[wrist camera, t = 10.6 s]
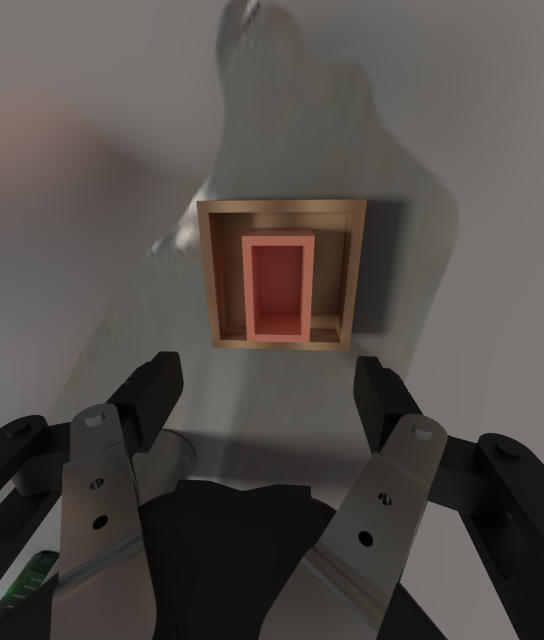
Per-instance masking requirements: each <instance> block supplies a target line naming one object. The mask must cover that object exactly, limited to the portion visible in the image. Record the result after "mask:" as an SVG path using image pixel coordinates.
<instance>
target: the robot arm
mask: <svg viewBox="0 0 544 640" xmlns="http://www.w3.org/2000/svg"><path fill="white" fill-rule="evenodd" d="M183 384H184V382H183V375H182V369H181V363H180V357H179V354H178V352H167V351H160V352H159V353H158V354H157V355H156V356H155V357H154V358H153V359H152V361H151V362H146V363H145V364H143V365H142V366H140V367H138V368H137V369H136V370H135V371H134V372H133V373H132V374H131V375H130V377H129V378H128V379H127V380H126V381H125V383H123V384H122V385H121V386H120V387H119V388H118V390H117V391H116V392H115V393H114V394H113V395H112V396H111V397H110V398H109V399H108V400H107V402H106V403H101V404H96V405H93V406H90V407H88V408H86V409H84V410H82V411H81V412H79V413H78V414H77V415H76V416H75V417H74V418H73V419H72V421H71V422H68V423H62V424H57V425H52V426H48V424H47V422H46V419H45V418H44V417H43V416H40V415H31V416H26V417H22V418H19V419H17V420H14V421H12V422H10V423H8V424H6V425H5V426H3V427H1V428H0V490H1V489H2V488H3V487H4V486H5V484H6V483H7V482H8V481H9V480H10V479H12V481H13V483H14V485H15V486H16V487H15V488H14V489H13V490H12V491H11V492H10V494H9V495H8V496H7V497H6V498H5V499H4V500H3V501H2V502H1V504H0V580H1V578H2V577H3V575H4V574H5V573H6V571H7V570H8V568H9V567H10V566H11V564H12V563H13V561H14V560H15V559H16V557H17V556H18V555H19V553H20V552H21V550H22V549H23V548H24V546H25V545H26V543H27V542H28V541H29V539H30V538H31V536H32V535H33V534H34V532H35V531H36V529H37V528H38V527H39V525H40V524H41V522H42V521H43V520H44V518H45V517H46V516H47V514H48V513H49V511H50V510H51V509H52V507H53V506H54V504H55V503H56V502H57V500H58V499H59V497H60V496H61V495H62V505H61V533H60V556H59V558H58V559H57V561H56V563H55V564H54V566H53V567H52V569H51V570H50V572H49V573H48V575H47V576H46V578H45V579H44V581H43V582H42V584H41V586H40V587H39V588H37V589H36V590H35V591H34V592H32V593H31V594H30V595H29V596H27V597H26V598H25V599H24V600H22V601H21V602H20V603H19V604H17V605H16V606H15V607H14V608H12V609H11V610H10V611H9V612H8V613H6V614H5V615H4V616H3V617H1V618H0V640H448V639H447V638H446V637H445V636H444V635H443V633H442V632H441V631H440V630H439V629H438V627H437V626H436V625H435V624H434V623H433V622H432V620H431V619H430V618H429V617H428V616H427V614H426V613H425V612H424V611H423V609H422V608H421V607H420V606H419V605H418V604H417V602H416V601H415V600H414V599H413V598H412V597H411V595H410V594H409V593H408V592H407V590H406V589H405V588H404V587H403V586H402V584H401V583H400V581H401V578H402V575H403V572H404V569H405V566H406V563H407V560H408V557H409V554H410V551H411V548H412V545H413V542H414V539H415V536H416V534H417V531H418V528H419V525H420V522H421V519H422V516H423V513H424V510H425V508H426V504H427V502H428V501H430V502H433V503H436V504H439V505H442V506H445V507H447V508H450V509H453V510H456V511H458V512H459V514H460V516H461V519H462V521H463V523H464V525H465V527H466V529H467V531H468V533H469V535H470V537H471V540H472V542H473V544H474V546H475V548H476V550H477V552H478V554H479V556H480V558H481V560H482V563H483V565H484V567H485V569H486V571H487V573H488V575H489V577H490V579H491V581H492V583H493V585H494V588H495V590H496V592H497V594H498V596H499V598H500V600H501V602H502V604H503V606H504V608H505V611H506V613H507V615H508V617H509V619H510V621H511V623H512V625H513V627H514V629H515V632H516V633H517V635H518V638H519V640H544V465H543V463H541V461H540V460H539V459H538V458H537V457H536V455H535V454H534V453H533V452H532V451H531V450H530V449H528V448H527V447H526V446H524V445H523V444H521V443H519V442H518V441H516V440H514V439H512V438H510V437H507V436H504V435H500V434H495V433H487V434H483V435H482V436H480V437H479V440H478V442H477V443H473V442H470V441H466V440H462V439H458V438H455V437H452V436H449V435H447V432H446V431H445V429H444V428H443V427H442V426H441V425H440V424H439V423H438V422H436V421H435V420H433V419H431V418H429V417H427V416H424V415H423V414H422V412H421V410H420V409H419V407H418V406H417V404H416V402H415V401H414V399H413V398H412V396H411V394H410V393H409V392H408V389H407V388H406V386H405V385H404V383H403V381H402V380H401V378H400V377H399V375H397V374H396V373H395V372H394V371H392V370H391V369H390V368H383V367H382V365H381V363H380V362H379V360H378V358H377V357H372V356H358V358H357V363H356V371H355V379H354V387H353V393H354V400H355V403H356V406H357V409H358V412H359V416H360V419H361V422H362V425H363V428H364V431H365V434H366V437H367V441H368V444H369V447H370V450H371V453H372V456H371V457H370V459H369V461H368V462H367V464H366V465H365V467H364V469H363V470H362V472H361V473H360V475H359V477H358V478H357V480H356V481H355V483H354V485H353V486H352V488H351V489H350V491H349V493H348V494H347V496H346V497H345V499H344V501H343V502H342V504H341V505H340V507H339V509H338V510H337V511H336V510H335V509H334V508H332V507H330V506H329V505H327V504H326V503H324V502H321V501H319V500H317V499H314V498H311V486H301V485H281V484H276V485H271V486H266V487H261V488H256V489H251V490H246V491H240V490H237V489H234V488H231V487H228V486H225V485H222V484H218V483H215V482H212V481H203V480H188V479H189V477H190V475H191V472H192V468H193V466H194V463H195V453H194V450H193V448H192V446H191V445H190V444H189V443H188V442H187V441H186V440H185V439H184V438H182V437H181V436H179V435H177V434H175V433H172V432H170V431H165V430H161V429H162V427H163V426H164V424H165V422H166V420H167V419H168V417H169V415H170V413H171V412H172V410H173V408H174V406H175V405H176V403H177V401H178V399H179V397H180V396H181V394H182V391H183Z"/></svg>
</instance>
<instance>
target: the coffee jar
mask: <svg viewBox="0 0 544 640" xmlns="http://www.w3.org/2000/svg"><path fill="white" fill-rule="evenodd" d="M58 558H59V556H58V555H55V554H51V553H50V554H45V553H37V554H35V555H34V556H33V557H32V558H31V560H30V561H29V562H28V563H27V565H26V566H25V568H24V569H23V570H22V572H21V573H20V574H19V576H18V577H17V578H16V580H15V581H14V583H13V584H12V585H11V587H10V588H9V589H8V591H7V592H6V594H5V595H4V596H3V598H2V599H1V600H0V618H1V617H3V616H4V615H5V614H6V613H8V612H9V611H10V610H11V609H12V608H14V607H15V606H16V605H17V604H19V603H20V602H21V601H22V600H24V599H25V598H26V597H27V596H29V595H30V594H31V593H32V592H34V591H35V590H36V589H37V588H39V587H40V586H41V584H42V582H43V581H44V579H45V578H46V576H47V575H48V573H49V572H50V570H51V569H52V567H53V566H54V564H55V563H56V561H57V559H58Z"/></svg>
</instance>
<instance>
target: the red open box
mask: <svg viewBox="0 0 544 640" xmlns="http://www.w3.org/2000/svg"><path fill="white" fill-rule="evenodd" d="M314 241H315V236H314V234H313V232H312V231H311V229H310V228H254V229H251V230H249V231H248V232H247V233H245V234H244V235H243V236H242V252H243V272H244V291H245V311H246V331H247V341H258V342H300V343H309V339H310V320H311V300H312V280H313V261H314Z"/></svg>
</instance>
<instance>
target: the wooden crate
mask: <svg viewBox="0 0 544 640" xmlns="http://www.w3.org/2000/svg"><path fill="white" fill-rule="evenodd" d="M196 202H197V211H198V220H199V229H200V239H201V248H202V257H203V266H204V275H205V285H206V294H207V303H208V312H209V321H210V331H211V340H212V348H247V349H287V350H326V351H349V348H350V340H351V331H352V323H353V314H354V306H355V297H356V289H357V280H358V272H359V263H360V255H361V246H362V238H363V229H364V221H365V212H366V204H367V199H342V200H238V201H196ZM254 228H310V229H311V231H312V232H313V234H314V236H315V241H314V261H313V280H312V300H311V320H310V339H309V343H300V342H258V341H247V331H246V311H245V291H244V272H243V252H242V236H243V235H244V234H245V233H247V232H248V231H249V230H251V229H254Z"/></svg>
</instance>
